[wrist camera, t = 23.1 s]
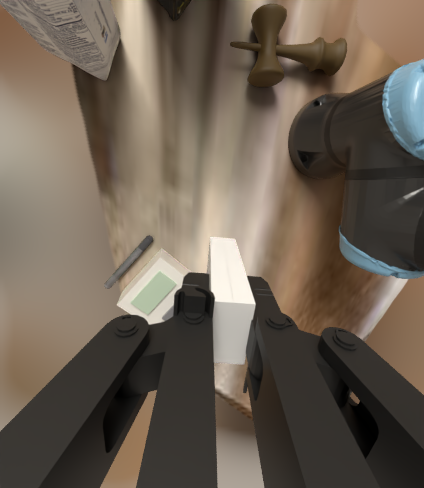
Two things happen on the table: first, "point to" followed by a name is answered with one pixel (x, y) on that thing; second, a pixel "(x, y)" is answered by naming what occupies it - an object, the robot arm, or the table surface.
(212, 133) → the table surface
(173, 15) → the voltmeter
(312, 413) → the robot arm
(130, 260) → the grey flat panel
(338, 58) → the kendama
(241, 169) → the table surface
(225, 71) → the table surface
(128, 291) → the breaker housing
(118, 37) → the juice carton
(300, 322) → the table surface
